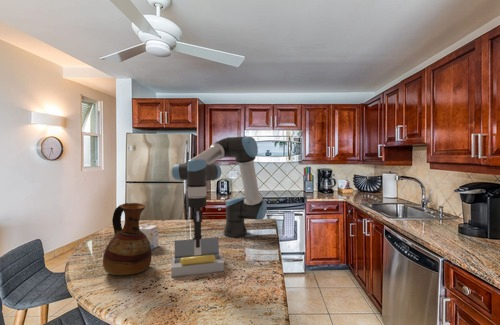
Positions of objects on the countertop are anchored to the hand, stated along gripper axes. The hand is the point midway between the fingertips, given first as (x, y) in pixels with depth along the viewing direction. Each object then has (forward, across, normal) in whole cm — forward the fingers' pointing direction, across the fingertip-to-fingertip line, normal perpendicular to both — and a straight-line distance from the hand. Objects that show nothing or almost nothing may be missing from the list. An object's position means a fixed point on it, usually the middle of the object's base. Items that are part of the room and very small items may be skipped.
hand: (197, 254), depth 110 cm
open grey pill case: (+10, -11, 0) cm, 15 cm away
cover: (+2, -15, 0) cm, 15 cm away
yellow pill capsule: (+4, -6, 0) cm, 8 cm away
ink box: (+10, -47, -26) cm, 55 cm away
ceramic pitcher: (+10, -16, -30) cm, 35 cm away
